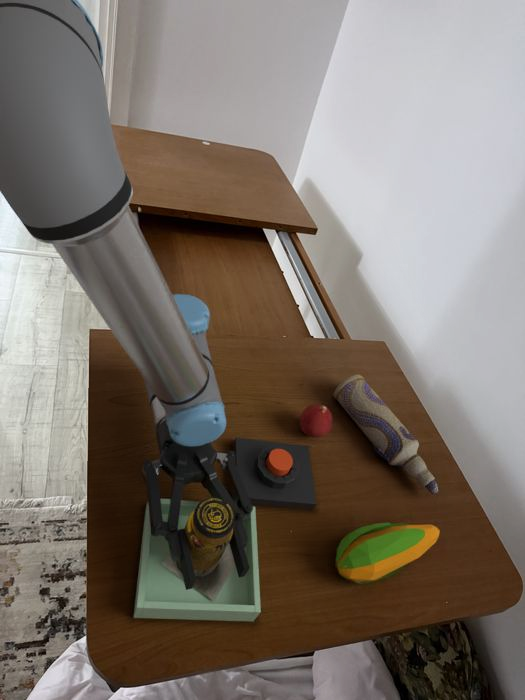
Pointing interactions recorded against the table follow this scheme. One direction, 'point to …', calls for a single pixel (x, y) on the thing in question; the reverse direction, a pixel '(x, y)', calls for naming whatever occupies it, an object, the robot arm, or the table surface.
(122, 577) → the table surface
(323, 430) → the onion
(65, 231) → the robot arm
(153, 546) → the mint green tray
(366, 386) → the decorative bottle
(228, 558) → the condiment
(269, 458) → the button
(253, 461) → the button base
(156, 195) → the table surface
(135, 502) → the table surface
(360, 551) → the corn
